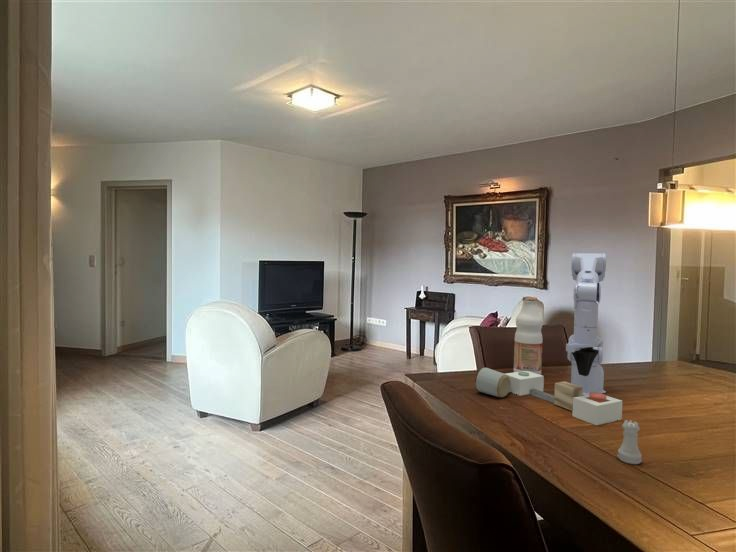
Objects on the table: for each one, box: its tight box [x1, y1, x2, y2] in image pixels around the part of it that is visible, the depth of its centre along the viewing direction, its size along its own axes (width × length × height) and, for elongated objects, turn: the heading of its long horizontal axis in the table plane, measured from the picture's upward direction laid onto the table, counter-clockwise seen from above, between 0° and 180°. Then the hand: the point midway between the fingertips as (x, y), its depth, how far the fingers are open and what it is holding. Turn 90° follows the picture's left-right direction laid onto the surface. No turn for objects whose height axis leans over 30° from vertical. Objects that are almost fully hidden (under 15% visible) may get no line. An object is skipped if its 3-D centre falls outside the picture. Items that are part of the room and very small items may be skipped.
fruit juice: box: [513, 296, 544, 375], centre depth 157 cm, size 9×9×28 cm
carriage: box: [553, 381, 583, 412], centre depth 123 cm, size 4×6×6 cm, turn 26°
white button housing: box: [571, 395, 623, 426], centre depth 115 cm, size 10×7×5 cm
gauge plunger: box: [589, 392, 607, 403], centre depth 115 cm, size 4×4×4 cm
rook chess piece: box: [616, 419, 643, 465], centre depth 91 cm, size 4×4×8 cm
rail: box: [529, 389, 554, 404], centre depth 127 cm, size 2×18×2 cm, turn 26°
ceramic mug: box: [475, 367, 511, 398], centre depth 134 cm, size 11×8×8 cm
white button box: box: [505, 371, 545, 396], centre depth 138 cm, size 10×7×6 cm
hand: (583, 375), depth 120 cm, fingers closed
